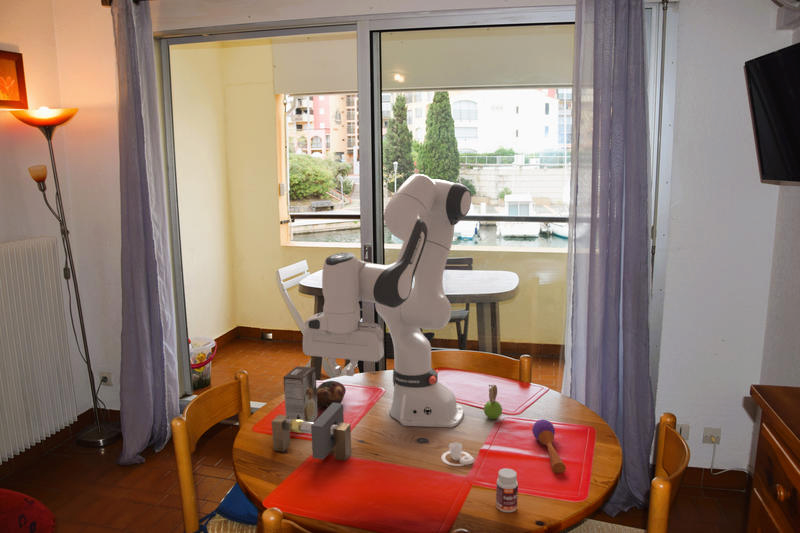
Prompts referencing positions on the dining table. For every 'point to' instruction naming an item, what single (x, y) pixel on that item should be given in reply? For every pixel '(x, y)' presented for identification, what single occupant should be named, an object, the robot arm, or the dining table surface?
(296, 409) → the coffee box
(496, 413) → the green feathered ball toy
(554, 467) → the purple and brown maraca
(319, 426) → the grey flat block
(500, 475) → the pill bottle
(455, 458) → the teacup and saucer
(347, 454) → the rod stand
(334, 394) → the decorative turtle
